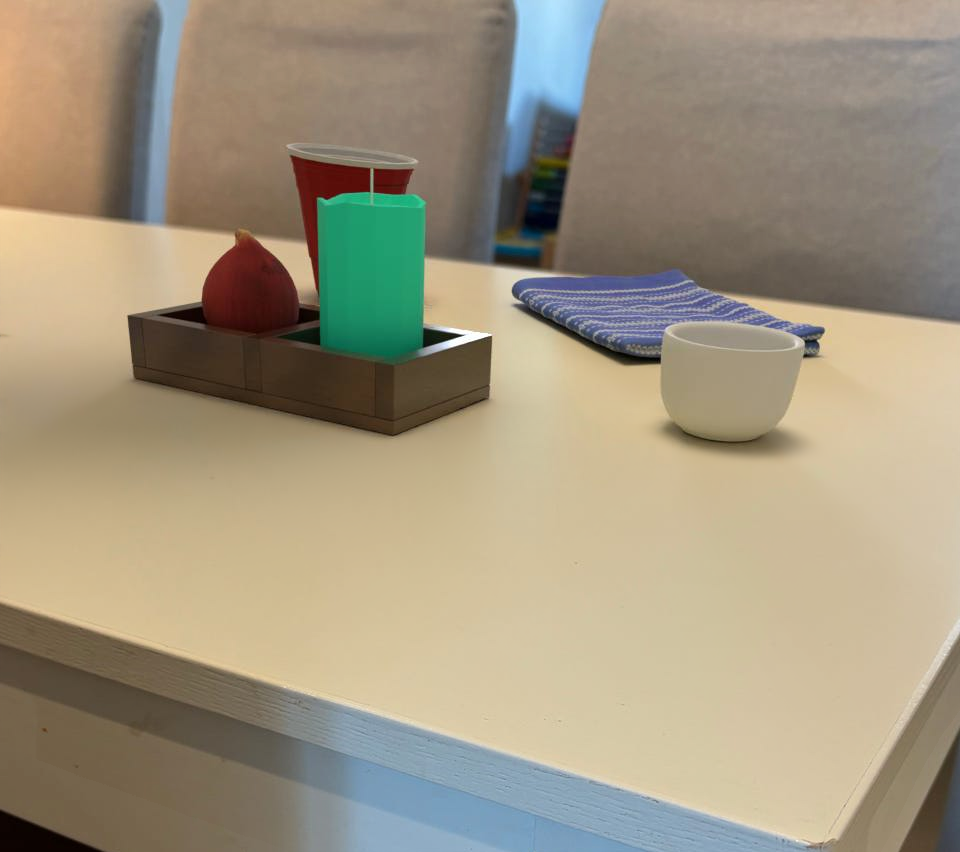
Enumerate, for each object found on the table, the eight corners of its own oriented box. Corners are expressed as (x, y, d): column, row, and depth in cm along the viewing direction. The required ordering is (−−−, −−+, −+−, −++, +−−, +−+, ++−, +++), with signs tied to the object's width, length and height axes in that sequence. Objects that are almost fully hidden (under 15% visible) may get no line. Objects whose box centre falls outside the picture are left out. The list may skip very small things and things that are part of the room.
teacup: (818, 444, 62) (836, 347, 59) (703, 456, 59) (717, 354, 56) (714, 399, 70) (726, 312, 67) (609, 408, 67) (618, 317, 64)
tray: (133, 377, 68) (126, 315, 67) (246, 349, 76) (243, 293, 75) (393, 435, 60) (393, 365, 58) (489, 397, 68) (492, 334, 66)
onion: (289, 351, 73) (284, 223, 69) (309, 371, 68) (305, 235, 65) (200, 355, 71) (190, 223, 67) (214, 376, 66) (205, 235, 63)
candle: (384, 370, 69) (385, 163, 64) (442, 391, 65) (448, 172, 60) (302, 382, 66) (295, 164, 60) (358, 405, 62) (356, 174, 56)
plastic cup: (386, 316, 89) (387, 154, 84) (267, 302, 92) (260, 145, 87) (434, 295, 98) (438, 149, 93) (324, 284, 101) (322, 141, 96)
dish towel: (677, 299, 102) (681, 267, 101) (828, 356, 82) (835, 318, 81) (504, 302, 97) (506, 269, 96) (621, 364, 77) (625, 323, 76)
